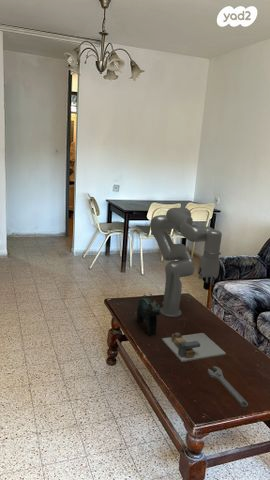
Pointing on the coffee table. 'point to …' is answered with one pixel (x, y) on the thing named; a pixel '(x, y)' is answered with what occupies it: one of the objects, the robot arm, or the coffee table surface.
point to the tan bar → (179, 339)
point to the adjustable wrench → (227, 385)
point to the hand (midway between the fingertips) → (206, 289)
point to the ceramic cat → (148, 314)
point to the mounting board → (199, 351)
